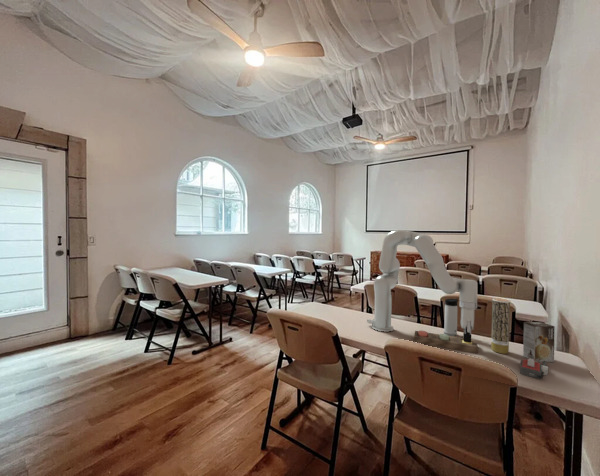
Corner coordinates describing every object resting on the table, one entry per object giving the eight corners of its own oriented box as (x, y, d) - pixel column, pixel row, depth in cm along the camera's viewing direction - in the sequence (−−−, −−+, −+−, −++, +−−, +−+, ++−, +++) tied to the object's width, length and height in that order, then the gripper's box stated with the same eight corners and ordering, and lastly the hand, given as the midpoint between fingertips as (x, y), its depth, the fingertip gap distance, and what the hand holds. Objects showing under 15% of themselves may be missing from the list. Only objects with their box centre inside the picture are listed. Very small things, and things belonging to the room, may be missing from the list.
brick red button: (418, 338, 144) (418, 332, 143) (418, 335, 147) (418, 330, 147) (427, 339, 142) (427, 334, 142) (427, 337, 146) (427, 331, 146)
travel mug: (459, 336, 151) (460, 300, 151) (446, 335, 152) (447, 299, 152) (455, 332, 157) (456, 298, 157) (442, 331, 158) (443, 297, 158)
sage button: (439, 341, 139) (439, 335, 139) (439, 338, 143) (439, 333, 143) (449, 343, 137) (449, 337, 137) (448, 340, 141) (448, 334, 141)
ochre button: (462, 348, 135) (462, 342, 135) (461, 345, 139) (461, 339, 139) (472, 350, 133) (472, 343, 133) (471, 346, 137) (471, 340, 137)
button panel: (413, 342, 142) (414, 336, 142) (414, 336, 151) (415, 330, 151) (477, 353, 130) (478, 347, 130) (474, 345, 139) (475, 339, 139)
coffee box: (541, 355, 128) (542, 321, 128) (554, 362, 122) (555, 326, 122) (522, 355, 128) (523, 321, 128) (534, 362, 121) (535, 326, 121)
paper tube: (511, 355, 129) (513, 301, 128) (495, 353, 130) (497, 301, 129) (503, 349, 135) (505, 298, 135) (488, 347, 136) (489, 297, 136)
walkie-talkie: (548, 383, 104) (547, 365, 119) (549, 372, 104) (548, 355, 119) (519, 375, 110) (521, 359, 125) (519, 364, 110) (522, 349, 125)
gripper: (458, 300, 144) (457, 335, 144) (460, 307, 130) (459, 345, 131) (474, 302, 141) (474, 337, 141) (479, 309, 127) (478, 348, 127)
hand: (467, 341), depth 136 cm, fingers closed
